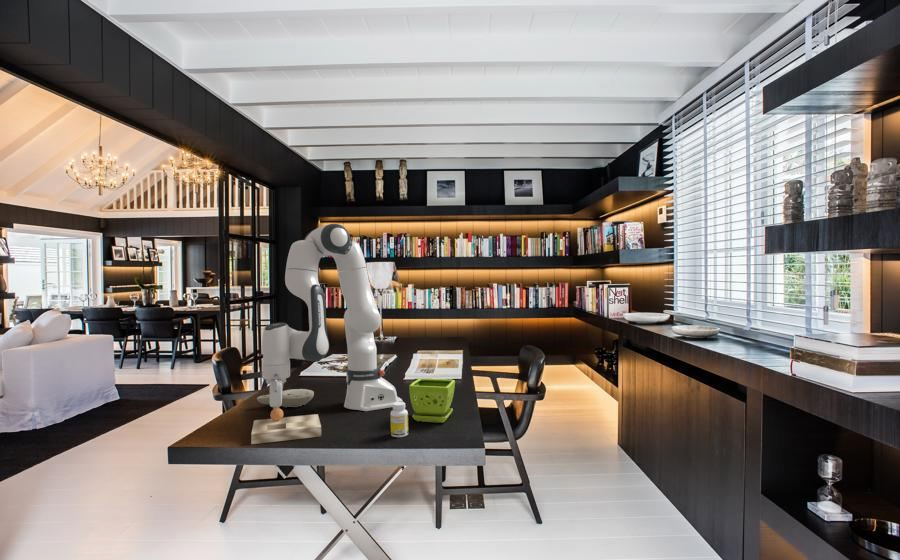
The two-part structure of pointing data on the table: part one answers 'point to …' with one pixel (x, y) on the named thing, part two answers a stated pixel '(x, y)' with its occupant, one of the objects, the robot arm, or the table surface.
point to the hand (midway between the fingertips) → (276, 413)
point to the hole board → (285, 429)
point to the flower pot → (432, 399)
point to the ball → (276, 414)
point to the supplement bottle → (399, 420)
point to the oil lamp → (291, 397)
